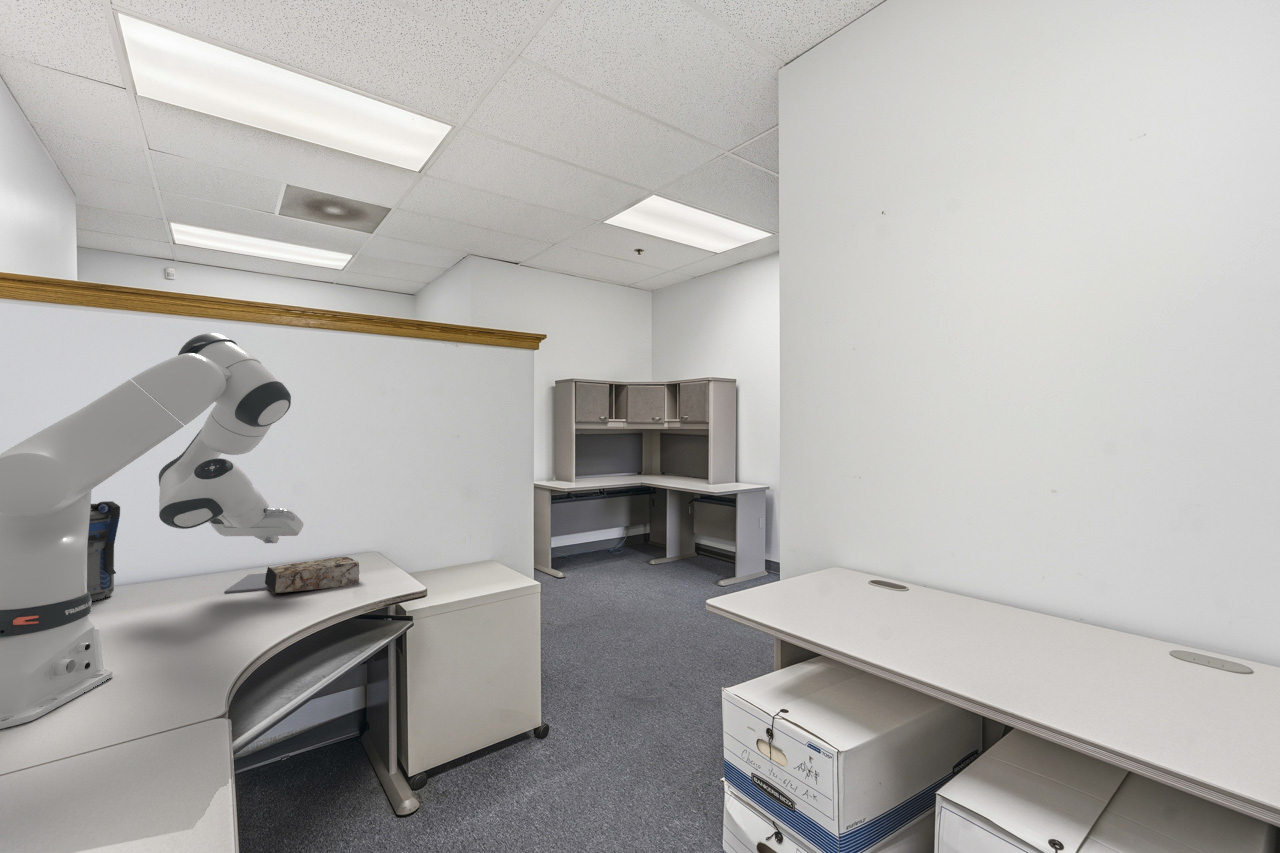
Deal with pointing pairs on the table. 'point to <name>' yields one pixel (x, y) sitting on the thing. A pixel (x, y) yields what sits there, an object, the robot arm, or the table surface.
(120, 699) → the table surface
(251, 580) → the mat
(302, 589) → the stone block
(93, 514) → the grey blue tall cylinder
